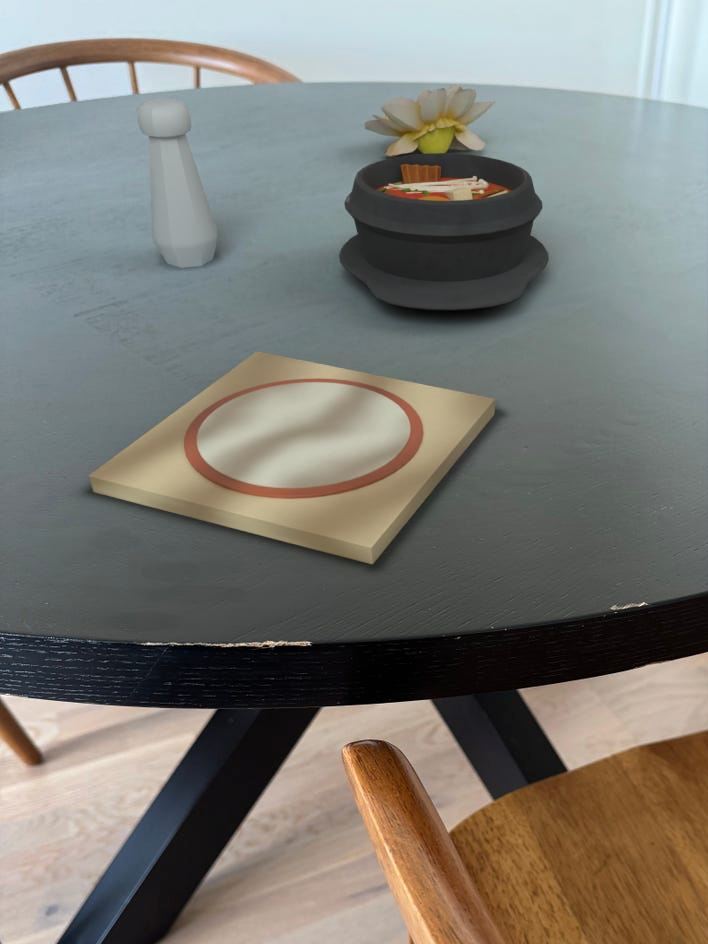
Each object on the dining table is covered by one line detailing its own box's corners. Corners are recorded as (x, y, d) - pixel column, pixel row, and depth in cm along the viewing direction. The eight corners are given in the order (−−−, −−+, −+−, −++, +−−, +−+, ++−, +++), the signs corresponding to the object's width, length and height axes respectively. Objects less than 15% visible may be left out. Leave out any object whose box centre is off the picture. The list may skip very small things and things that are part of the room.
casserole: (346, 229, 94) (339, 137, 89) (532, 228, 96) (536, 136, 90) (334, 334, 76) (324, 224, 70) (565, 331, 77) (573, 223, 71)
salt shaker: (146, 258, 88) (112, 99, 79) (201, 244, 91) (174, 90, 82) (177, 276, 85) (145, 113, 76) (233, 261, 87) (209, 102, 79)
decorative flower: (474, 119, 121) (476, 33, 113) (505, 164, 115) (510, 78, 107) (361, 136, 118) (354, 50, 110) (387, 185, 112) (382, 97, 104)
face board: (93, 492, 58) (86, 471, 57) (258, 366, 71) (256, 347, 70) (372, 564, 53) (371, 542, 52) (494, 414, 66) (495, 394, 65)
